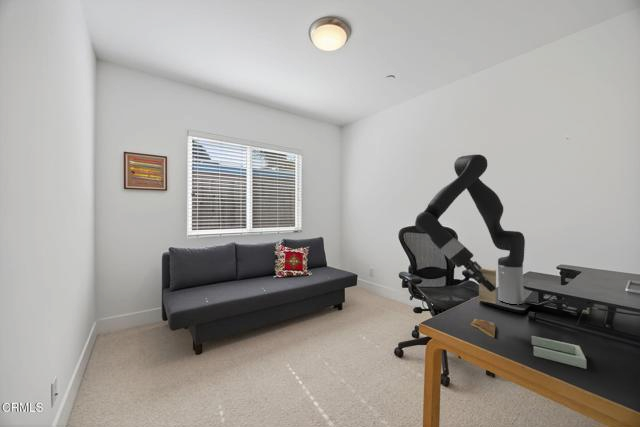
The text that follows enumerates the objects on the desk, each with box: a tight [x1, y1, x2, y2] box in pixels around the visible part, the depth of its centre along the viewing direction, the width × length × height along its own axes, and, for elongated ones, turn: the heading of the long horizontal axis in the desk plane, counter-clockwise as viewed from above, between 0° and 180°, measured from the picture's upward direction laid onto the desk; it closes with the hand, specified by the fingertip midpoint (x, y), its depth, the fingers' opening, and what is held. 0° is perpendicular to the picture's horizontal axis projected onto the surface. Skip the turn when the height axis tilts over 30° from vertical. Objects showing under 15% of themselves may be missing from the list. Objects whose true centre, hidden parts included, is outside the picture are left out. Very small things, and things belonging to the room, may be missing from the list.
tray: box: [531, 335, 587, 370], centre depth 76 cm, size 8×11×2 cm
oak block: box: [478, 267, 497, 304], centre depth 92 cm, size 5×5×11 cm
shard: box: [470, 318, 496, 338], centre depth 92 cm, size 11×8×2 cm
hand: (493, 288), depth 91 cm, fingers closed on oak block, 5 cm apart
